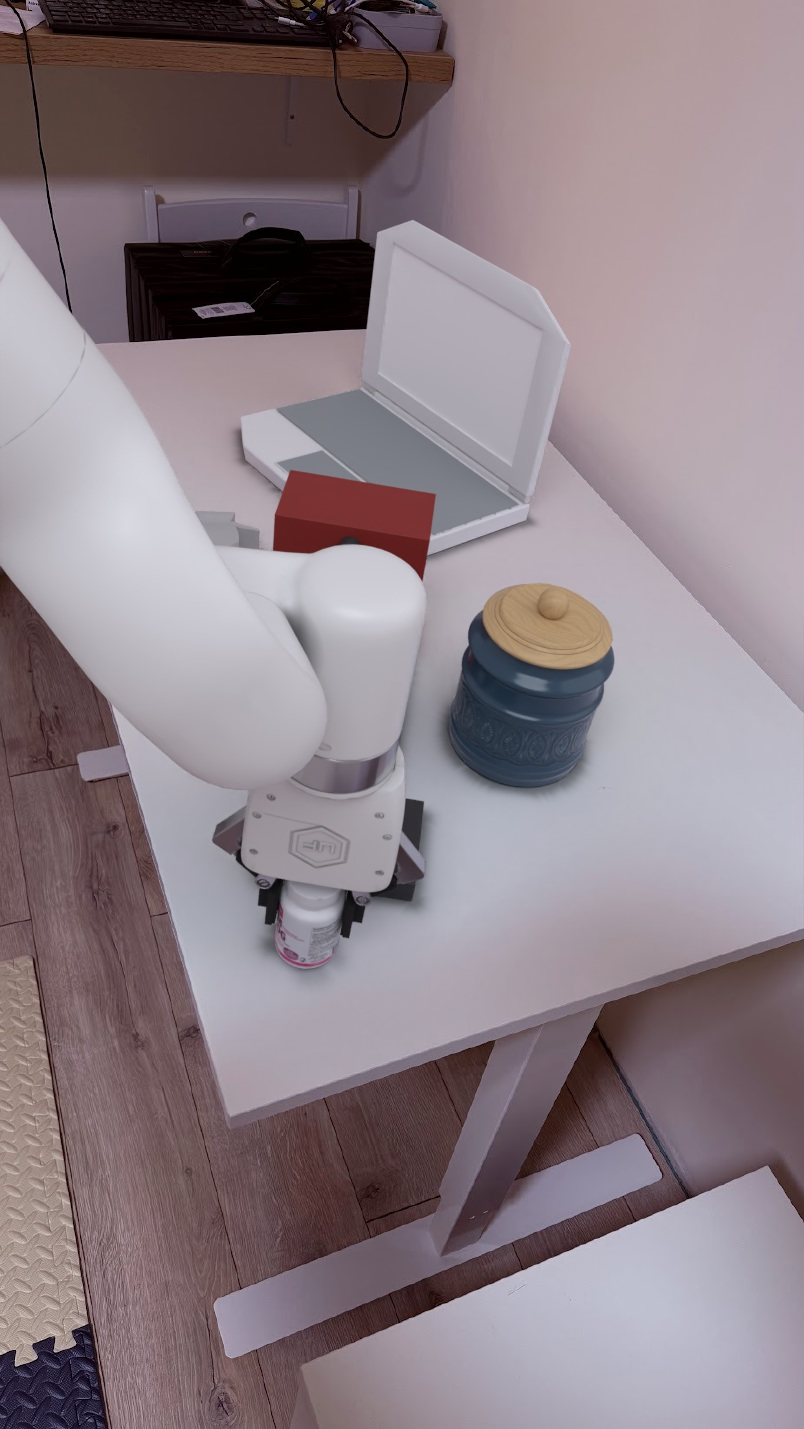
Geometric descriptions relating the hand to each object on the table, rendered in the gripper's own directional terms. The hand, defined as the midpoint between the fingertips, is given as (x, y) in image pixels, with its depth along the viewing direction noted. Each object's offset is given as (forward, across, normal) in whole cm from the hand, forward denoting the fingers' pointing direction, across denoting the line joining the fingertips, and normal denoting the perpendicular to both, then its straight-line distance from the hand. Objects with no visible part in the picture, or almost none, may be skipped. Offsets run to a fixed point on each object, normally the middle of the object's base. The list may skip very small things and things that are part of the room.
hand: (310, 913), depth 74 cm
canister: (+4, +16, +26) cm, 31 cm away
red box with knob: (+4, -2, +37) cm, 38 cm away
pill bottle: (+4, 0, 0) cm, 4 cm away
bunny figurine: (+5, -17, +45) cm, 49 cm away
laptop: (+4, -3, +69) cm, 70 cm away
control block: (+4, +2, +10) cm, 11 cm away
